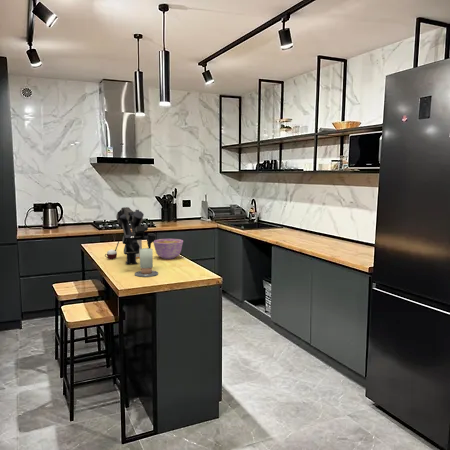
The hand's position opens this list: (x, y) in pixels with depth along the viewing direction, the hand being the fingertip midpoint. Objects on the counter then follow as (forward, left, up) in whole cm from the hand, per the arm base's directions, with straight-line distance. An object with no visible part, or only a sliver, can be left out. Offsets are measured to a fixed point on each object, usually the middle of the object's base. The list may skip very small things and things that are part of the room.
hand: (142, 250), depth 242 cm
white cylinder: (+8, +1, -8) cm, 11 cm away
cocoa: (-42, -13, -13) cm, 46 cm away
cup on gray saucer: (+8, +1, -12) cm, 15 cm away
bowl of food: (-34, +23, -13) cm, 43 cm away
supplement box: (-42, +2, -13) cm, 44 cm away
